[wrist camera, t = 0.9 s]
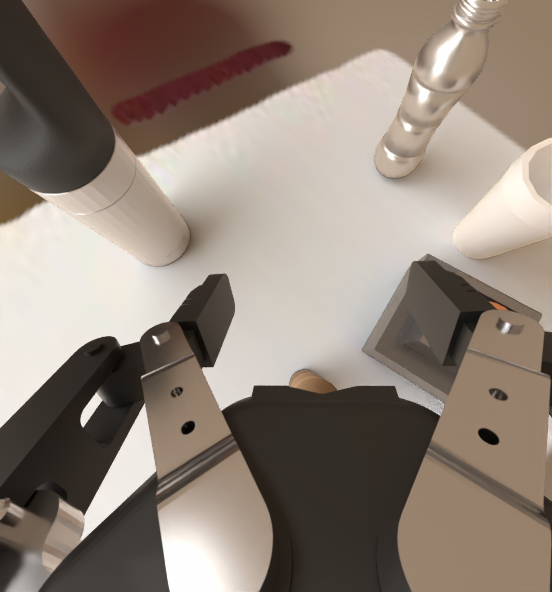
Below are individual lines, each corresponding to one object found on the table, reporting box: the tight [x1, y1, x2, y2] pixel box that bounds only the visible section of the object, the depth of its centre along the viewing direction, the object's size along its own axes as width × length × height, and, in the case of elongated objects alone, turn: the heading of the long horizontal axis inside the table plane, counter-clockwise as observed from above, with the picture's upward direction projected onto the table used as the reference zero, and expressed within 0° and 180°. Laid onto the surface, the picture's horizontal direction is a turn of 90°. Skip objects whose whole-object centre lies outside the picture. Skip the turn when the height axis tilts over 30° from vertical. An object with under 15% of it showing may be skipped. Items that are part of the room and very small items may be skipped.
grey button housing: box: [362, 254, 542, 403], centre depth 29 cm, size 14×14×8 cm
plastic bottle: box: [374, 0, 508, 178], centre depth 30 cm, size 6×7×20 cm
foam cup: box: [453, 138, 552, 259], centre depth 30 cm, size 10×9×13 cm
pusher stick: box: [289, 369, 337, 394], centre depth 26 cm, size 4×4×14 cm
